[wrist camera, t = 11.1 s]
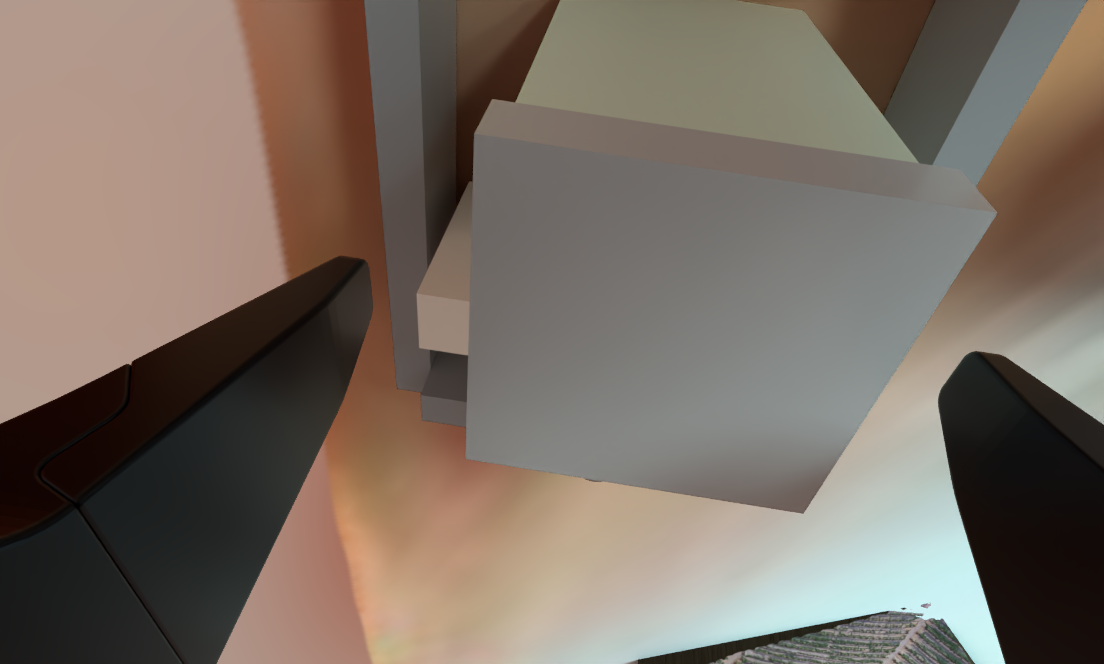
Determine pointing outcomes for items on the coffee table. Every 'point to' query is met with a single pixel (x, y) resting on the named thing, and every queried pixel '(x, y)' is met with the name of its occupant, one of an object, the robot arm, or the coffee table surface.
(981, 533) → the robot arm
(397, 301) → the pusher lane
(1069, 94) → the coffee table surface
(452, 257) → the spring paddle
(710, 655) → the terrain model
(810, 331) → the sage jar
